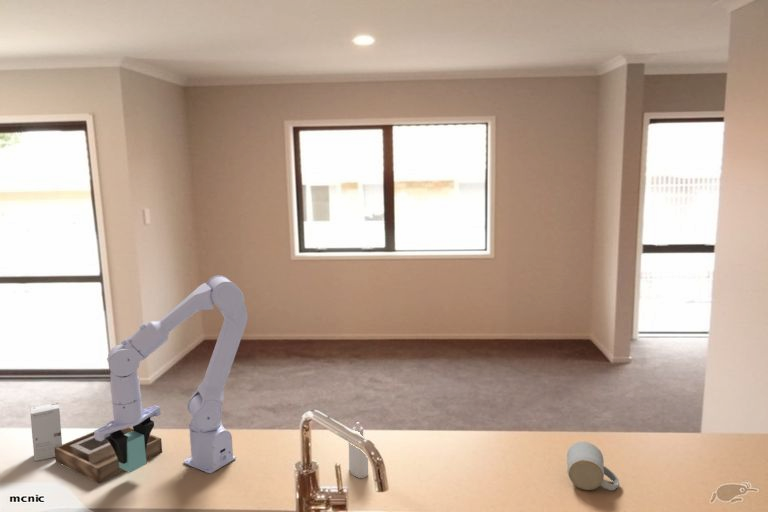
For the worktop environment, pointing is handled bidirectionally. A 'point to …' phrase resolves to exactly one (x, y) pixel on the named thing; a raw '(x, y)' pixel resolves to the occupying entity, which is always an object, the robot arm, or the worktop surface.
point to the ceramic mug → (588, 467)
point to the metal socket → (92, 450)
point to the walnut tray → (102, 468)
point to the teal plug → (134, 452)
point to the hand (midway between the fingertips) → (132, 457)
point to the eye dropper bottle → (358, 458)
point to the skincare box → (45, 430)
